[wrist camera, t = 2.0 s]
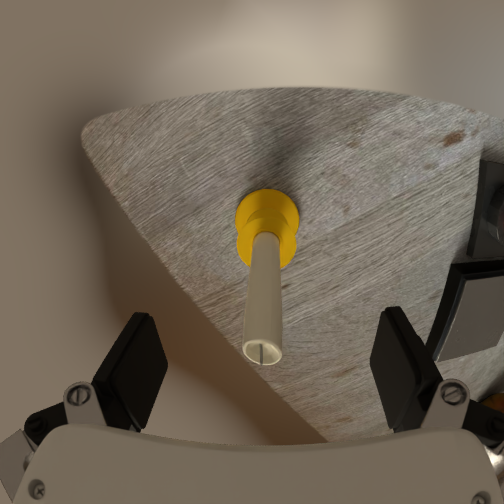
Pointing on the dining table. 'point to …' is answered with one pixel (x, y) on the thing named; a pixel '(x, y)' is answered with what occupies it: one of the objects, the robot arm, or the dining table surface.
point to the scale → (469, 311)
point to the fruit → (495, 402)
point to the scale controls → (488, 213)
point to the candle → (265, 268)
